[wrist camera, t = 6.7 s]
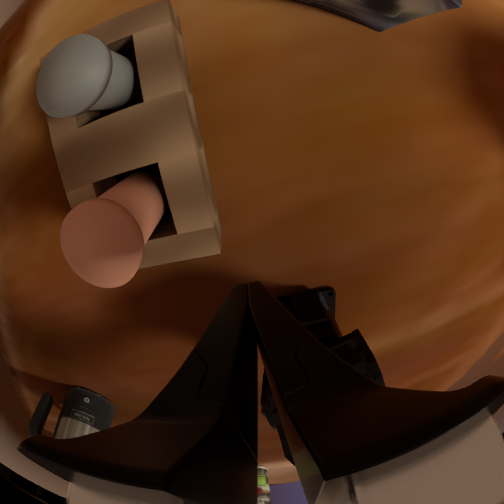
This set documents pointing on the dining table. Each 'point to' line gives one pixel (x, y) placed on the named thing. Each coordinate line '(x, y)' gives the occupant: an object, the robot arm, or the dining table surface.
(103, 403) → the milk frother
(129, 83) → the grey plug
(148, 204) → the brick plug
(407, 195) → the dining table surface
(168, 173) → the socket block
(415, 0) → the small box
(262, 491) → the coffee can
